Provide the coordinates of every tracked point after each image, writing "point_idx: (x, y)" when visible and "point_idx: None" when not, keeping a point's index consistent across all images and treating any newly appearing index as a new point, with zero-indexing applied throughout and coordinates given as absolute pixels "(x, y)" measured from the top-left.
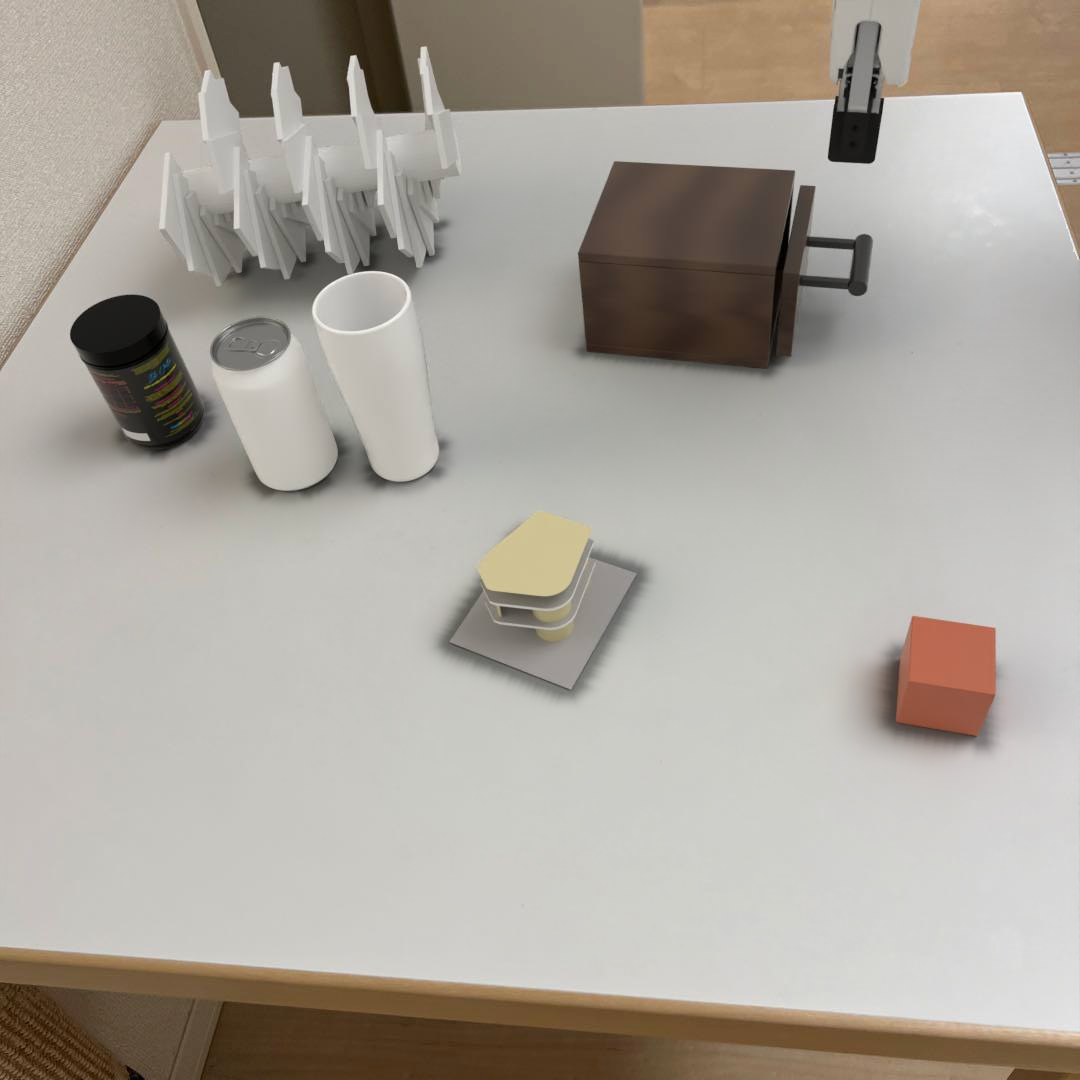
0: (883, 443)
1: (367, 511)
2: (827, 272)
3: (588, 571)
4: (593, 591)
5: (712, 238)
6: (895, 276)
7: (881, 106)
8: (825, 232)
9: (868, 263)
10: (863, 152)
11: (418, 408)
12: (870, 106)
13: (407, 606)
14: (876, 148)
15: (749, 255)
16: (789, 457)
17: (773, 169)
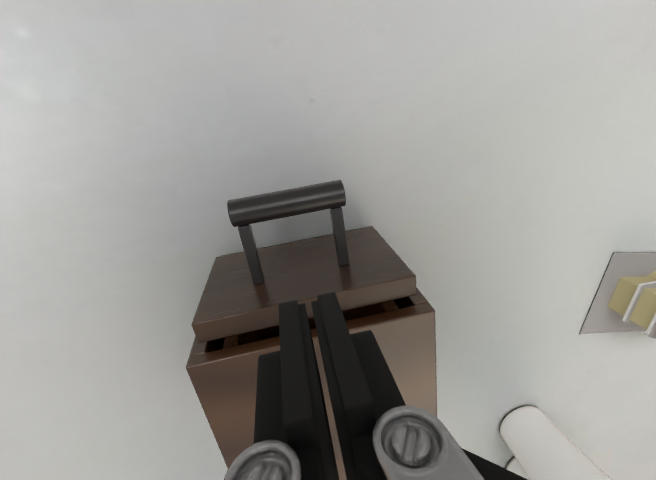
0: (461, 100)
1: (561, 415)
2: (197, 232)
3: (652, 285)
4: (628, 272)
5: None
6: (169, 153)
7: (349, 412)
8: (117, 258)
9: (293, 193)
10: (371, 331)
11: (586, 462)
12: (516, 475)
13: (631, 361)
14: (339, 310)
15: (415, 345)
16: (489, 184)
17: (197, 393)
